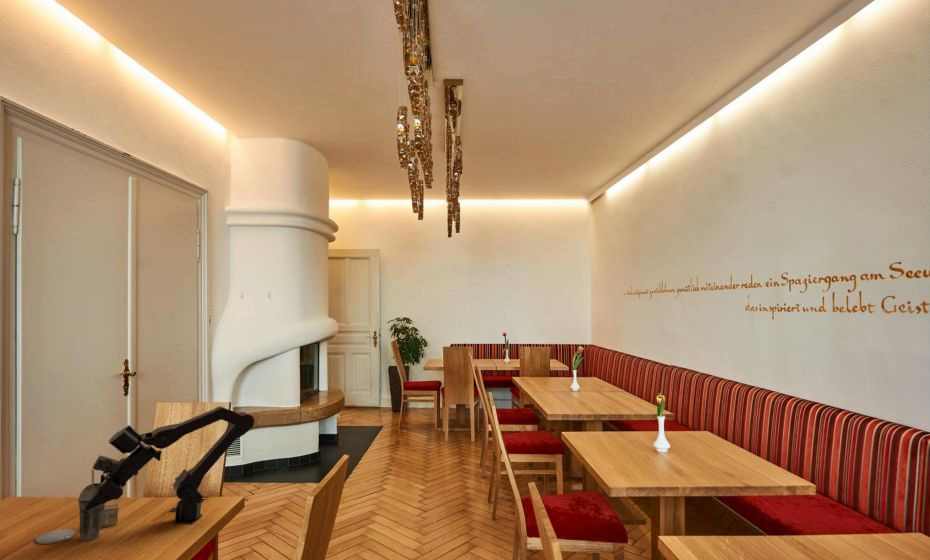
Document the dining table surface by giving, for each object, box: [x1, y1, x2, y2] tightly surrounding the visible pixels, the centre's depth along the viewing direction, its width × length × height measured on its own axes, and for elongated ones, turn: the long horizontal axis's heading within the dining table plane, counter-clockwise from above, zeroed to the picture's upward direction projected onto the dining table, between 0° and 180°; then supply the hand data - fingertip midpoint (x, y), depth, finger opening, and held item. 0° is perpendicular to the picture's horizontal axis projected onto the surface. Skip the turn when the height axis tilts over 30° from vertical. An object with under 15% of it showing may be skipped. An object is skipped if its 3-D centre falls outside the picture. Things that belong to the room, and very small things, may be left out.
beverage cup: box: [77, 469, 106, 542], centre depth 149 cm, size 7×7×20 cm
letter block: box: [101, 501, 120, 528], centre depth 159 cm, size 6×6×6 cm
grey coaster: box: [35, 528, 76, 545], centre depth 148 cm, size 9×9×1 cm
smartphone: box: [169, 495, 210, 513], centre depth 178 cm, size 7×1×15 cm
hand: (86, 505), depth 149 cm, fingers closed on beverage cup, 7 cm apart
